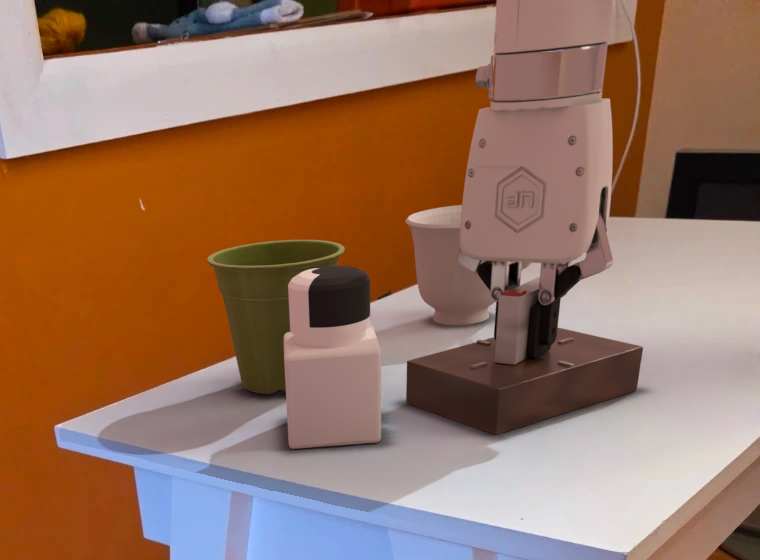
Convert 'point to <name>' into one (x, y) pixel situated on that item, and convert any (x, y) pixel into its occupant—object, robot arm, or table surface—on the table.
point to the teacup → (447, 269)
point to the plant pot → (264, 301)
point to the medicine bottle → (331, 360)
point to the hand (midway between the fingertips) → (523, 350)
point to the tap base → (522, 381)
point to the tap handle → (514, 322)
